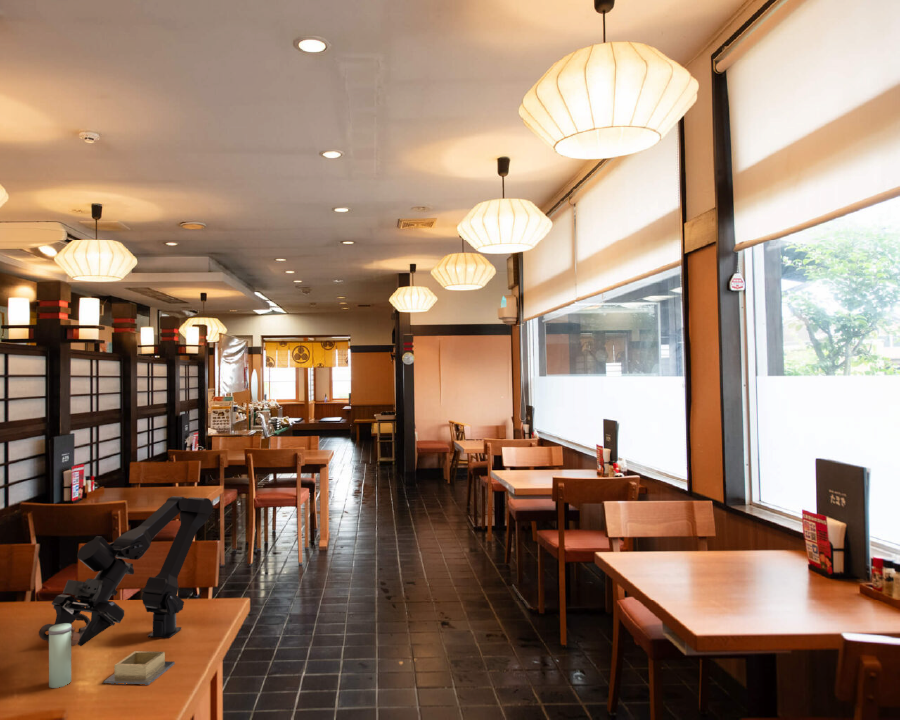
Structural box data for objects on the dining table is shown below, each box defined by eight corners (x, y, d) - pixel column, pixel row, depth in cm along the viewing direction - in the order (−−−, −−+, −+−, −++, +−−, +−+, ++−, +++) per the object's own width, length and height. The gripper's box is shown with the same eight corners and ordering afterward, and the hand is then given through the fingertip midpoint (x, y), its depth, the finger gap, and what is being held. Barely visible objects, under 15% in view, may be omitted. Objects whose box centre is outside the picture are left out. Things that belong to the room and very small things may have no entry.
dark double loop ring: (75, 633, 179) (88, 608, 179) (84, 657, 173) (98, 631, 172) (29, 636, 170) (42, 609, 169) (37, 660, 164) (51, 633, 163)
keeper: (132, 663, 157) (132, 648, 157) (174, 664, 156) (174, 649, 156) (103, 683, 146) (103, 667, 146) (148, 685, 145) (148, 669, 145)
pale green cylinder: (58, 678, 150) (58, 622, 150) (76, 679, 149) (76, 623, 150) (43, 688, 145) (43, 630, 145) (62, 688, 144) (62, 630, 145)
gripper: (59, 561, 158) (14, 622, 147) (114, 567, 151) (71, 631, 140) (87, 584, 165) (46, 643, 154) (141, 591, 158) (102, 654, 147)
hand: (65, 642), depth 149 cm, fingers open, 9 cm apart
